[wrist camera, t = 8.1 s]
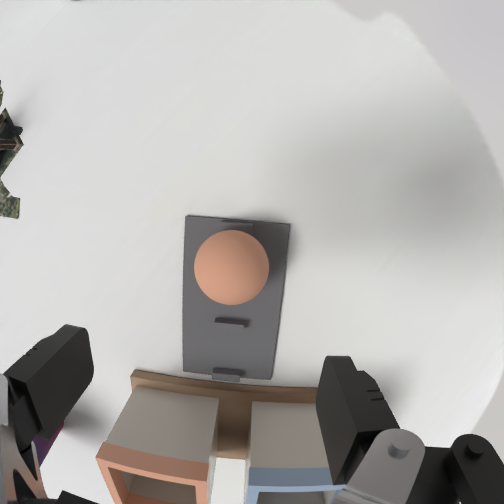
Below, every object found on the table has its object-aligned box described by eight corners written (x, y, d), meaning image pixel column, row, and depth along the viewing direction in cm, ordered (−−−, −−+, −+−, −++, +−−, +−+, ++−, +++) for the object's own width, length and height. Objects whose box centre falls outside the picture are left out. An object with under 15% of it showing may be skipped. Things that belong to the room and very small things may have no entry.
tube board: (134, 369, 27) (130, 376, 26) (341, 387, 27) (344, 395, 26) (144, 437, 30) (141, 444, 28) (320, 453, 30) (321, 460, 28)
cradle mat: (186, 215, 24) (182, 217, 23) (289, 224, 24) (291, 226, 23) (183, 369, 27) (181, 376, 26) (270, 377, 27) (270, 385, 26)
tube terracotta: (135, 384, 26) (95, 457, 17) (220, 397, 26) (206, 481, 17) (144, 440, 28) (117, 508, 18) (218, 452, 28) (208, 527, 19)
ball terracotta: (202, 222, 24) (188, 233, 19) (270, 228, 24) (274, 240, 19) (199, 287, 25) (186, 312, 20) (264, 293, 25) (266, 320, 20)
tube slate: (251, 400, 26) (248, 485, 17) (337, 402, 27) (363, 481, 17) (244, 454, 28) (240, 530, 19) (320, 456, 28) (334, 528, 19)
